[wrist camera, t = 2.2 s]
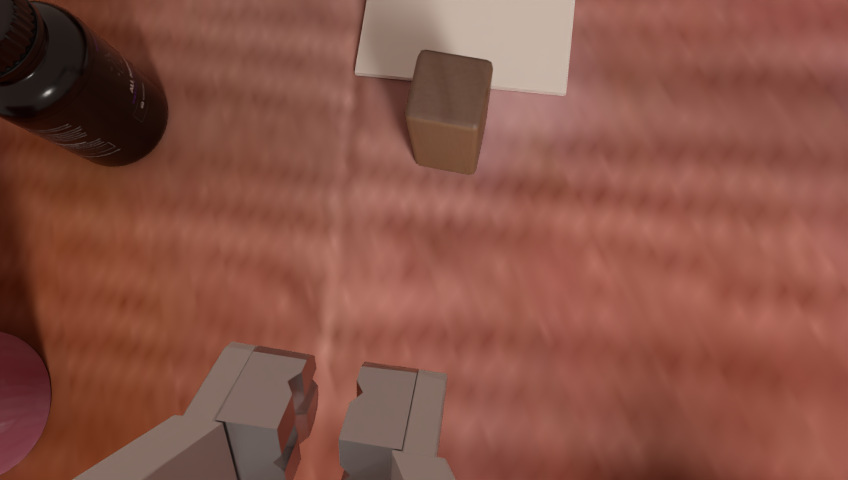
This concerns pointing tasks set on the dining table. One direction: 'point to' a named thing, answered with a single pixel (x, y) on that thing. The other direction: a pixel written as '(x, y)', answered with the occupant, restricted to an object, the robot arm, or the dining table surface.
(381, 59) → the plate
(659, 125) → the dining table surface
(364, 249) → the dining table surface
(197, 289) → the dining table surface
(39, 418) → the plant pot
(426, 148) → the wooden block
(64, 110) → the supplement bottle
